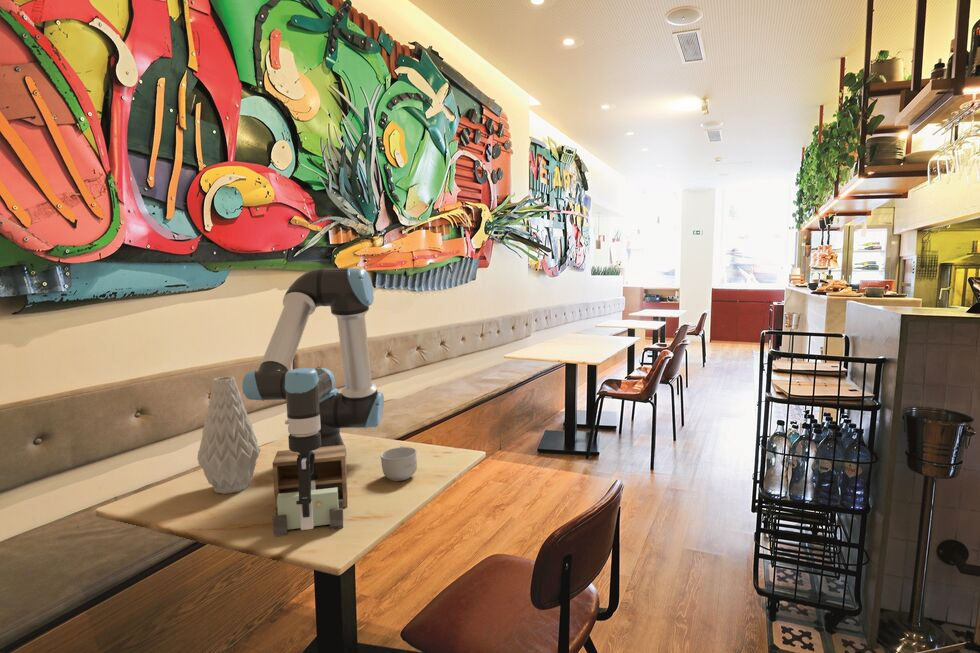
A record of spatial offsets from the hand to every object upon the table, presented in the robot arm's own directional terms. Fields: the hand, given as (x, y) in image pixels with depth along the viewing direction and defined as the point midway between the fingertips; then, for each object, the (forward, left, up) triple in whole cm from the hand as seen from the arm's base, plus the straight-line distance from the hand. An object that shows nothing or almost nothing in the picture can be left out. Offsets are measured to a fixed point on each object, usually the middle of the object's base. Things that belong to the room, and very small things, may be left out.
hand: (309, 516), depth 137 cm
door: (0, 0, -2) cm, 2 cm away
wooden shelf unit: (-8, 0, -2) cm, 8 cm away
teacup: (-28, +25, -3) cm, 38 cm away
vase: (-33, -24, -3) cm, 41 cm away
